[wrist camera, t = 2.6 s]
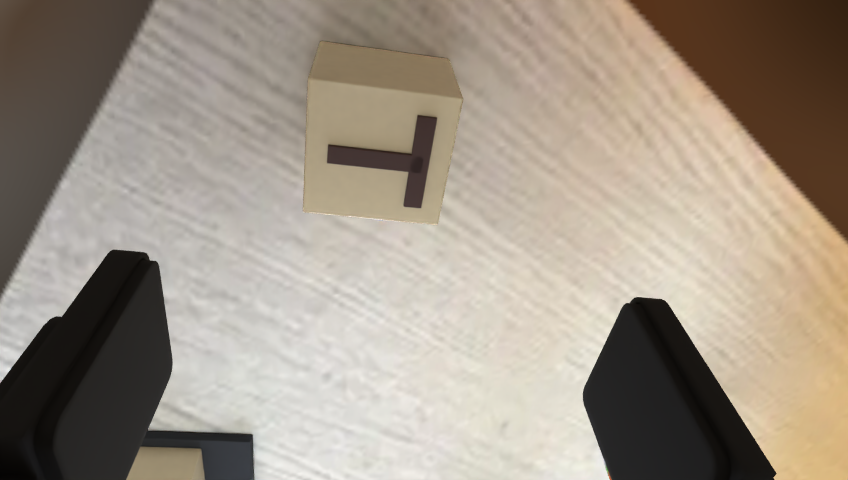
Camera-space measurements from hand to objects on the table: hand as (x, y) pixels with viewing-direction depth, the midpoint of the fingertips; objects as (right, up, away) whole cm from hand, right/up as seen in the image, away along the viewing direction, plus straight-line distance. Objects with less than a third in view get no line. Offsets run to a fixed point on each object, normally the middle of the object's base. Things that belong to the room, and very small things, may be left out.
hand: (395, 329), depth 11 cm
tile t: (-1, +7, +9) cm, 12 cm away
